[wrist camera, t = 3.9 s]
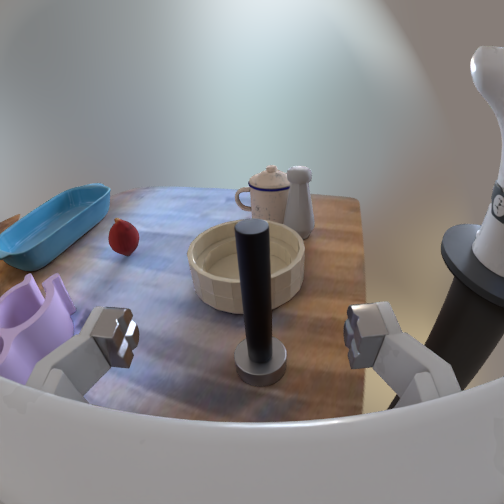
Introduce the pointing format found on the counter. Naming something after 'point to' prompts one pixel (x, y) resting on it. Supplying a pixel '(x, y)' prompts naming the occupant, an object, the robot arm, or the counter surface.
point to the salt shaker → (299, 201)
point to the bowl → (226, 266)
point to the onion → (123, 237)
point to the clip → (32, 325)
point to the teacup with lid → (267, 195)
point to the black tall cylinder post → (257, 307)
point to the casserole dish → (53, 226)
